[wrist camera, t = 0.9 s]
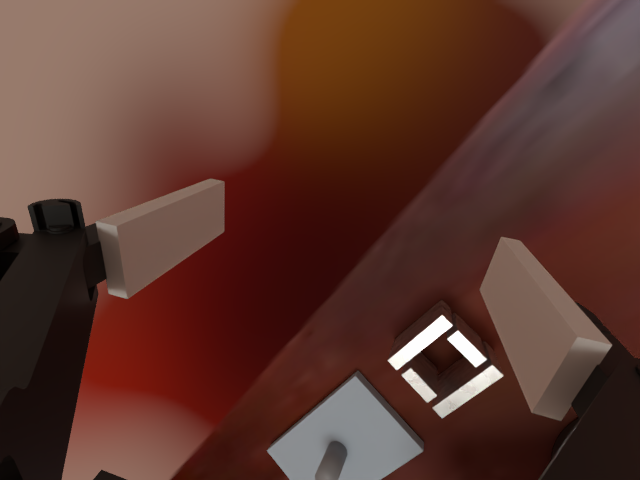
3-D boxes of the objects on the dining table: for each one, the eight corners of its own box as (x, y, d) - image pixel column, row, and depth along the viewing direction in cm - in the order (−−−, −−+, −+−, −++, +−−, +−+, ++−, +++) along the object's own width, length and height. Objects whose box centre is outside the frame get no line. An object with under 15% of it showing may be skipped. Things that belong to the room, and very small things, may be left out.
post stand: (424, 442, 41) (421, 484, 35) (324, 509, 47) (308, 554, 41) (358, 370, 43) (344, 397, 37) (271, 443, 49) (248, 477, 43)
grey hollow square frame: (493, 349, 37) (503, 375, 31) (441, 388, 39) (442, 418, 34) (441, 299, 38) (442, 315, 32) (394, 339, 41) (387, 360, 35)
